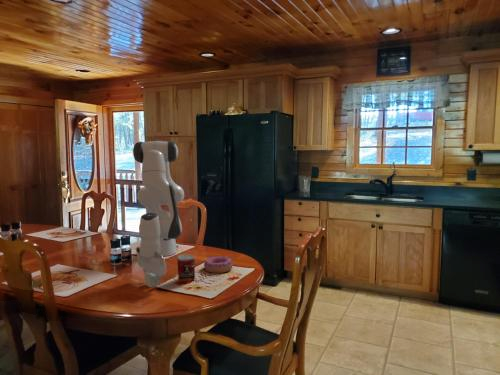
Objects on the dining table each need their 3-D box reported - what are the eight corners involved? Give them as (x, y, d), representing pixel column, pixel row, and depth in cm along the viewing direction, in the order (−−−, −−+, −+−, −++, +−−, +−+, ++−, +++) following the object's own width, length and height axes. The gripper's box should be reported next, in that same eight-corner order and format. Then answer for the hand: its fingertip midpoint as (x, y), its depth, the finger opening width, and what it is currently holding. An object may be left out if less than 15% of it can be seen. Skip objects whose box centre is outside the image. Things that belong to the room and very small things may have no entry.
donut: (219, 276, 177) (219, 266, 177) (198, 270, 186) (197, 260, 185) (238, 268, 188) (238, 258, 188) (217, 262, 197) (217, 253, 196)
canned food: (178, 284, 167) (178, 260, 166) (177, 277, 175) (176, 255, 174) (196, 282, 169) (195, 258, 168) (193, 276, 177) (193, 253, 176)
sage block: (145, 284, 168) (144, 274, 167) (154, 282, 171) (154, 272, 170) (150, 287, 164) (149, 277, 164) (159, 284, 167) (159, 274, 167)
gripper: (169, 253, 160) (170, 285, 162) (146, 244, 175) (148, 273, 177) (156, 257, 156) (157, 289, 157) (134, 247, 171) (135, 276, 172)
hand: (152, 280), depth 167 cm, fingers open, 8 cm apart
